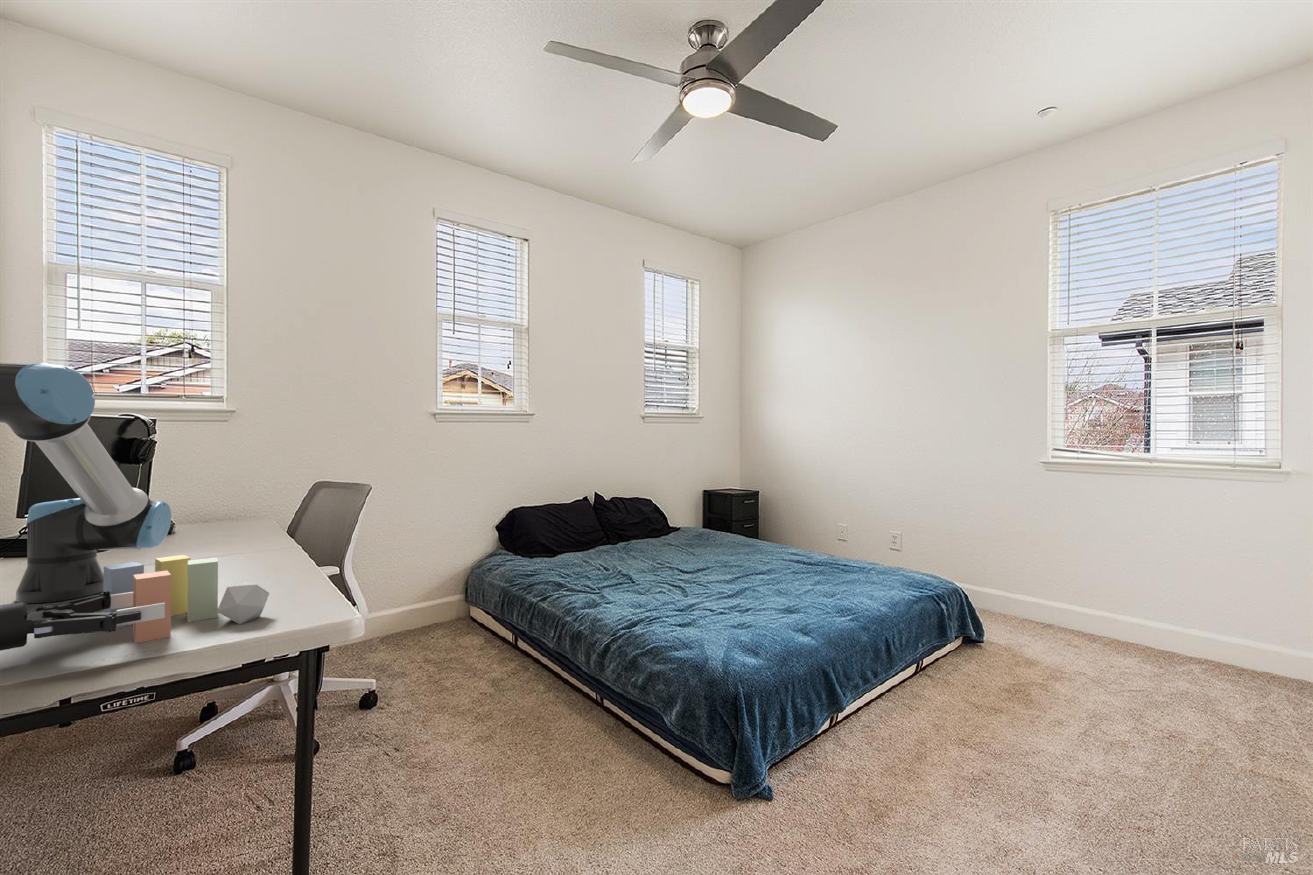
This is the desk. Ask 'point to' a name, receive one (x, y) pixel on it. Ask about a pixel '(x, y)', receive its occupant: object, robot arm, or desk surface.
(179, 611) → the mustard pillar
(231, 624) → the desk surface
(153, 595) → the terracotta pillar
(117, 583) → the slate pillar
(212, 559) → the sage pillar
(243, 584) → the die
